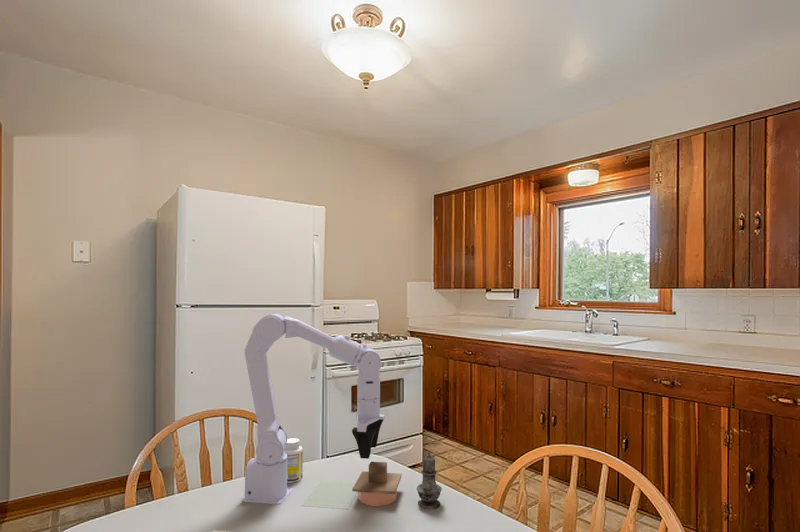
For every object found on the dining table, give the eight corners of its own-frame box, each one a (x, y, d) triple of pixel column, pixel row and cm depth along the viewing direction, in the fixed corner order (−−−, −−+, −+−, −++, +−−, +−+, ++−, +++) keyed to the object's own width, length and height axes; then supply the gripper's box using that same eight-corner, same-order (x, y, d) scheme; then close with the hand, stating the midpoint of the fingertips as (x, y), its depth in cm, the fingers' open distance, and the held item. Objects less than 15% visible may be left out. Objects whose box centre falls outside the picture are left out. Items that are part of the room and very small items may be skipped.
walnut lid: (352, 491, 105) (352, 471, 105) (362, 473, 115) (362, 455, 115) (395, 494, 104) (394, 473, 104) (401, 476, 113) (401, 457, 114)
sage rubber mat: (301, 507, 105) (301, 505, 105) (320, 481, 118) (320, 480, 119) (347, 510, 103) (347, 509, 103) (362, 484, 117) (362, 482, 117)
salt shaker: (440, 511, 103) (439, 457, 103) (414, 508, 104) (414, 455, 104) (443, 499, 108) (442, 448, 109) (418, 497, 110) (418, 446, 110)
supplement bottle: (292, 473, 124) (292, 435, 124) (306, 478, 120) (307, 439, 121) (276, 481, 119) (276, 441, 119) (290, 486, 116) (291, 445, 116)
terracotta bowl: (354, 505, 105) (354, 490, 105) (363, 488, 114) (363, 474, 114) (392, 508, 104) (392, 493, 104) (399, 491, 113) (398, 476, 113)
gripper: (378, 405, 107) (378, 464, 106) (389, 391, 121) (389, 443, 120) (349, 404, 108) (348, 462, 107) (363, 390, 122) (363, 441, 121)
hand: (368, 452), depth 114 cm, fingers open, 7 cm apart
